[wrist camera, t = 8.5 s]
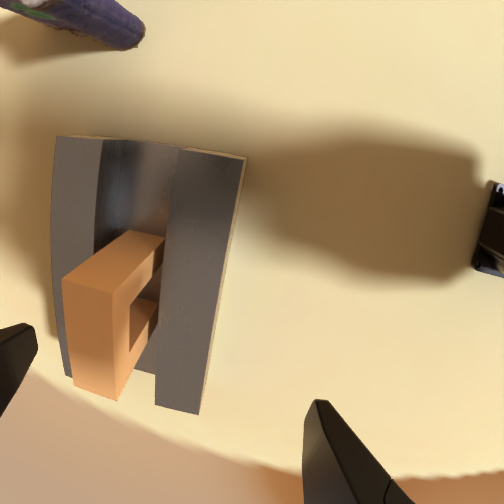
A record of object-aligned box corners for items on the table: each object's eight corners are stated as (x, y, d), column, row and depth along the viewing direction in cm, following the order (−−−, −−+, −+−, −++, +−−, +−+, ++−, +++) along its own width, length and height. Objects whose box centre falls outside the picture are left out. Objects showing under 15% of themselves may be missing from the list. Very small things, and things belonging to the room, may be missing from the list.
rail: (247, 157, 17) (244, 160, 14) (206, 379, 22) (198, 415, 19) (90, 135, 17) (56, 135, 13) (86, 346, 22) (65, 375, 19)
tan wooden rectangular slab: (166, 237, 18) (112, 294, 11) (157, 323, 20) (116, 401, 13) (129, 229, 18) (61, 278, 11) (124, 314, 20) (74, 385, 13)
